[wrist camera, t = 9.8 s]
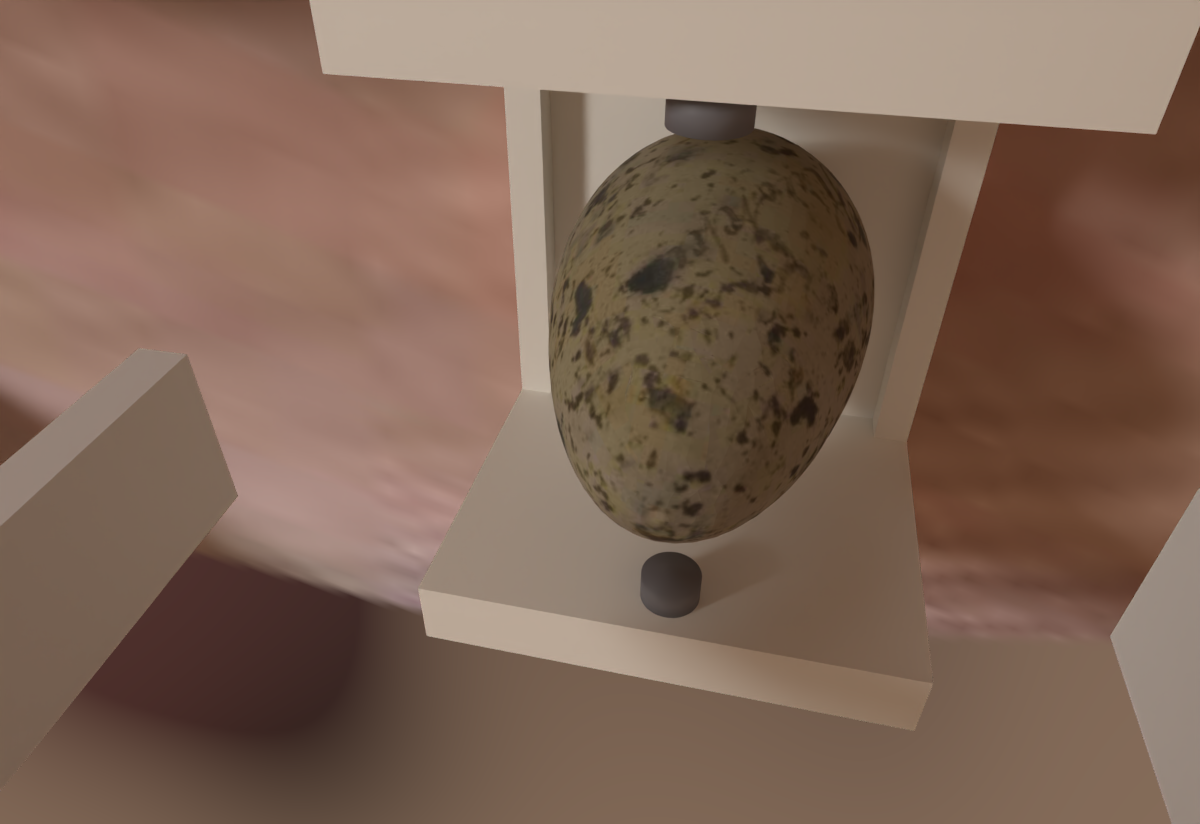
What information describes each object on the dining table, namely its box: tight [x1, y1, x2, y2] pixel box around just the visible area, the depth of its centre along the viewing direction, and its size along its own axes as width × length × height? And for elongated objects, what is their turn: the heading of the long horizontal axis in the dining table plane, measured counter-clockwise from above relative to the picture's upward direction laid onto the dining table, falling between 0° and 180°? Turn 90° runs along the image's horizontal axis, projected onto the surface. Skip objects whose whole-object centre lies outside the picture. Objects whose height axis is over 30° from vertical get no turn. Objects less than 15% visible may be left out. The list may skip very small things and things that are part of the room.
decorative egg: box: [548, 128, 875, 544], centre depth 15 cm, size 6×6×10 cm
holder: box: [309, 0, 1200, 731], centre depth 17 cm, size 14×10×10 cm
